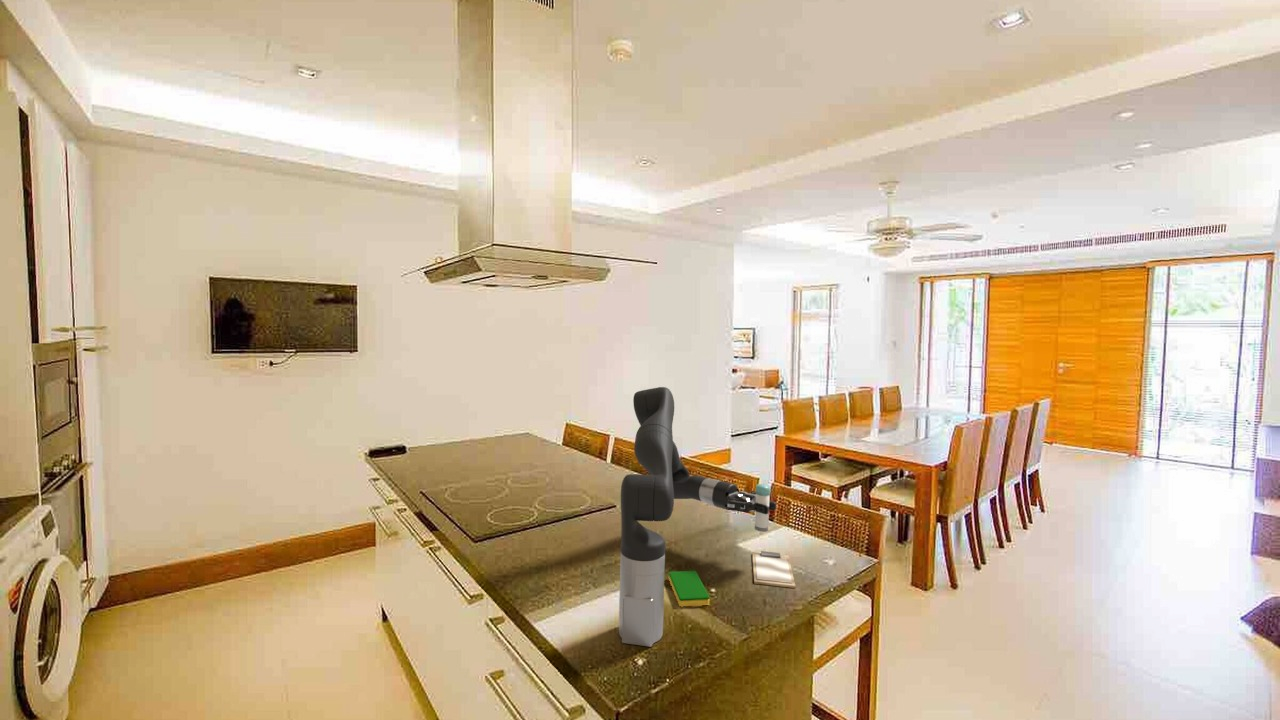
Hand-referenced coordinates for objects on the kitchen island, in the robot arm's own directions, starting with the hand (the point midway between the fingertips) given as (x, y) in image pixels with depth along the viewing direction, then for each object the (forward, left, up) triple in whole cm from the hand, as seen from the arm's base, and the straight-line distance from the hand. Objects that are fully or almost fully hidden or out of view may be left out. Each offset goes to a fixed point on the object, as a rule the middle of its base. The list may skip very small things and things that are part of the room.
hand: (771, 508), depth 141 cm
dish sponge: (-19, +20, -17) cm, 32 cm away
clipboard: (-2, -1, -16) cm, 16 cm away
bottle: (+1, +2, -6) cm, 7 cm away
